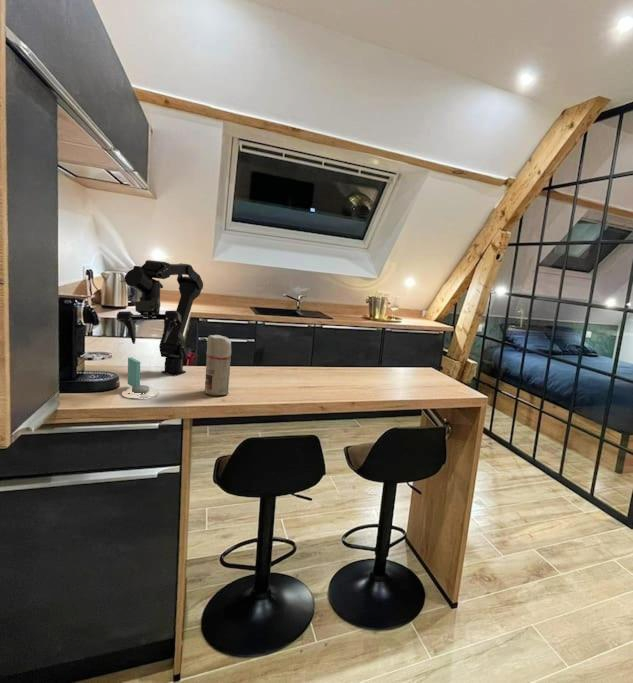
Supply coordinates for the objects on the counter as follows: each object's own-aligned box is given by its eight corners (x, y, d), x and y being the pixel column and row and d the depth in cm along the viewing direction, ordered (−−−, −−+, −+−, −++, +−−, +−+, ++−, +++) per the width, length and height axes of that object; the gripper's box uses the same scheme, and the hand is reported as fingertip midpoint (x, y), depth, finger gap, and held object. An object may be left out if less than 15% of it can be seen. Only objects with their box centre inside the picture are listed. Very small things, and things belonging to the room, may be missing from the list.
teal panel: (151, 391, 129) (152, 364, 127) (136, 394, 125) (136, 366, 123) (137, 382, 136) (137, 356, 134) (121, 384, 132) (122, 358, 131)
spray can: (202, 389, 139) (205, 332, 135) (226, 388, 142) (230, 333, 138) (205, 397, 131) (208, 337, 128) (230, 396, 134) (234, 338, 131)
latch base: (134, 386, 135) (134, 384, 135) (165, 390, 133) (165, 389, 133) (114, 396, 124) (114, 394, 124) (147, 401, 123) (147, 399, 123)
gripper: (111, 288, 122) (108, 338, 119) (174, 287, 125) (173, 336, 121) (123, 300, 133) (121, 346, 130) (182, 299, 136) (181, 344, 132)
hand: (148, 343), depth 128 cm, fingers open, 9 cm apart
